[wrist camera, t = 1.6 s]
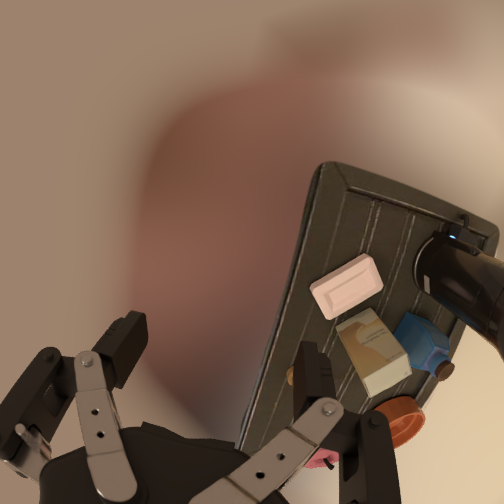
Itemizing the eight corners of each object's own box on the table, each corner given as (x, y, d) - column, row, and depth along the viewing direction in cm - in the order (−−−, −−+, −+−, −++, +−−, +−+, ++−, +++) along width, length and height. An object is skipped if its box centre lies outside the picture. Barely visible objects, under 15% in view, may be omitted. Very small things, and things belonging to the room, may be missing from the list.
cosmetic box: (369, 305, 38) (410, 351, 26) (377, 326, 39) (414, 372, 27) (332, 327, 39) (362, 380, 27) (341, 346, 40) (370, 399, 28)
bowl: (382, 392, 44) (394, 412, 38) (423, 394, 45) (436, 411, 40) (347, 434, 47) (355, 454, 41) (390, 433, 49) (399, 451, 43)
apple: (346, 414, 45) (361, 452, 35) (330, 439, 47) (341, 475, 37) (300, 415, 44) (310, 456, 34) (287, 440, 46) (294, 479, 36)
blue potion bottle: (387, 343, 40) (421, 388, 29) (406, 311, 39) (447, 351, 27) (410, 349, 41) (444, 390, 30) (428, 320, 40) (468, 357, 28)
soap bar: (307, 284, 37) (311, 291, 34) (365, 250, 35) (372, 256, 33) (324, 314, 38) (328, 322, 36) (378, 282, 37) (385, 288, 34)
